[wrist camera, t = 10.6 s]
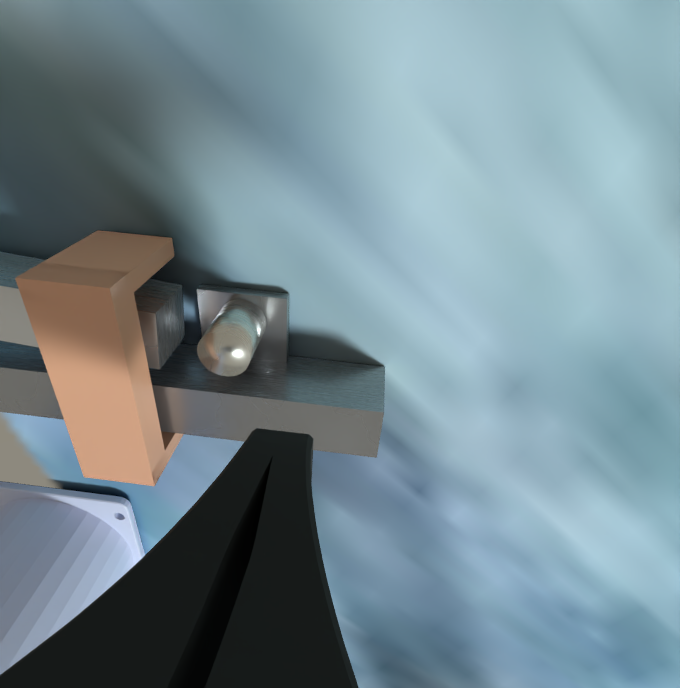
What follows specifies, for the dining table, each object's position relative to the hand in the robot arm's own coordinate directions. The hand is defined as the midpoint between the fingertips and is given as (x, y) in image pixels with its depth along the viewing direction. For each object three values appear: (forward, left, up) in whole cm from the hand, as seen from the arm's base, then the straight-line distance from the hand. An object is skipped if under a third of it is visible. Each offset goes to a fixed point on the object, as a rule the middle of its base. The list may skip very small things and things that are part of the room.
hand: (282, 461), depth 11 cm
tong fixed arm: (-1, +8, -6) cm, 10 cm away
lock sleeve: (-1, +6, -6) cm, 8 cm away
